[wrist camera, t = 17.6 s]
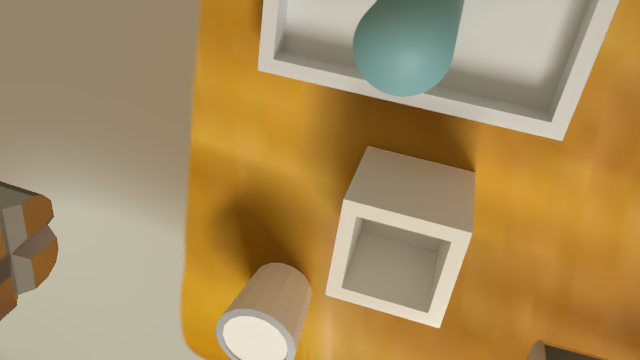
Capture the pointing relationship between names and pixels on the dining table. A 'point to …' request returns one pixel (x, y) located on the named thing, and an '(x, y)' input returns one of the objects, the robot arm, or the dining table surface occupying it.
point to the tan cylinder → (266, 315)
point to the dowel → (407, 44)
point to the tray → (457, 57)
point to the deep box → (402, 235)
